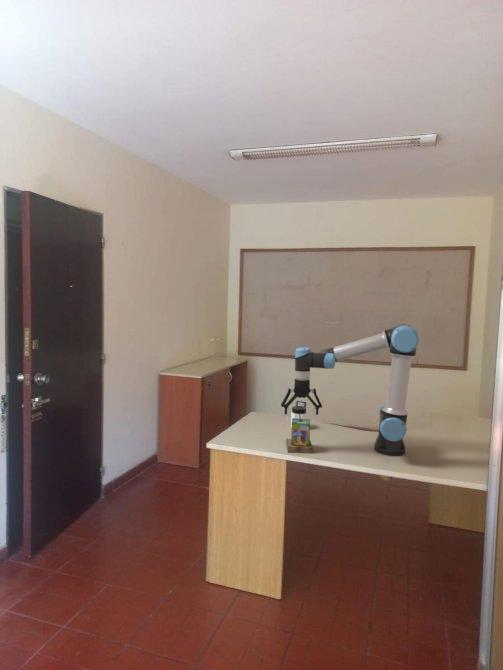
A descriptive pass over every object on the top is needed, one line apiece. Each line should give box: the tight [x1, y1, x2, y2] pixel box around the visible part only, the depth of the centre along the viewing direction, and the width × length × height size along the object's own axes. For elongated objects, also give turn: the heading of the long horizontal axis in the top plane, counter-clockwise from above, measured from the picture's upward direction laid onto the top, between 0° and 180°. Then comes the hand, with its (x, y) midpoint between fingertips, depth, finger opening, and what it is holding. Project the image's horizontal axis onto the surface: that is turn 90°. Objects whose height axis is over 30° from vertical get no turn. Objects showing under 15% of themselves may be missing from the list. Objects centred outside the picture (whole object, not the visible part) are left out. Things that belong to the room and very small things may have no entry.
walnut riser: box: [285, 438, 314, 454], centre depth 231 cm, size 12×12×3 cm
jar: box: [290, 405, 308, 429], centre depth 265 cm, size 9×8×12 cm
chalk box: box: [290, 413, 311, 446], centre depth 230 cm, size 9×9×15 cm
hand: (301, 420), depth 229 cm, fingers open, 13 cm apart
